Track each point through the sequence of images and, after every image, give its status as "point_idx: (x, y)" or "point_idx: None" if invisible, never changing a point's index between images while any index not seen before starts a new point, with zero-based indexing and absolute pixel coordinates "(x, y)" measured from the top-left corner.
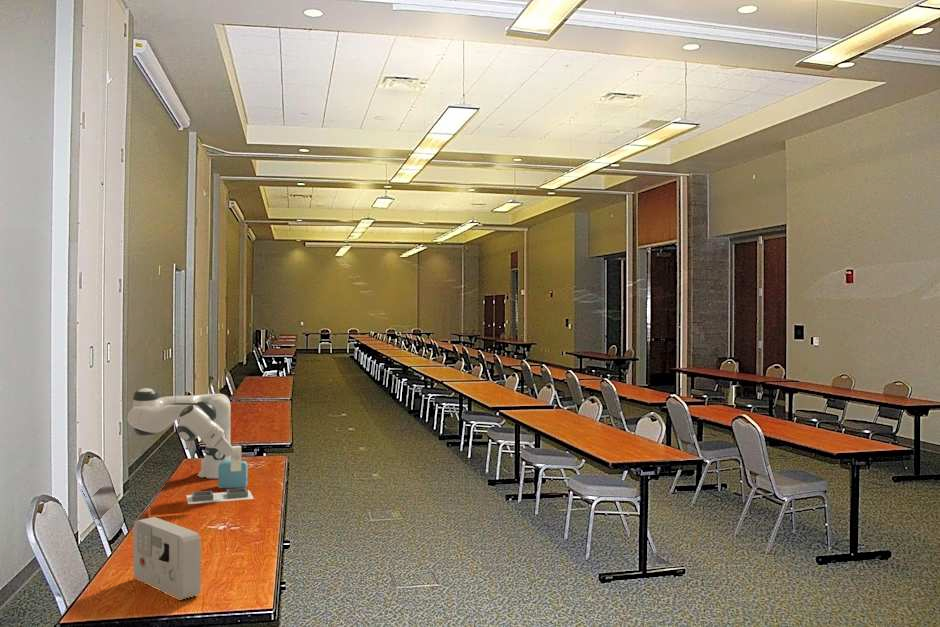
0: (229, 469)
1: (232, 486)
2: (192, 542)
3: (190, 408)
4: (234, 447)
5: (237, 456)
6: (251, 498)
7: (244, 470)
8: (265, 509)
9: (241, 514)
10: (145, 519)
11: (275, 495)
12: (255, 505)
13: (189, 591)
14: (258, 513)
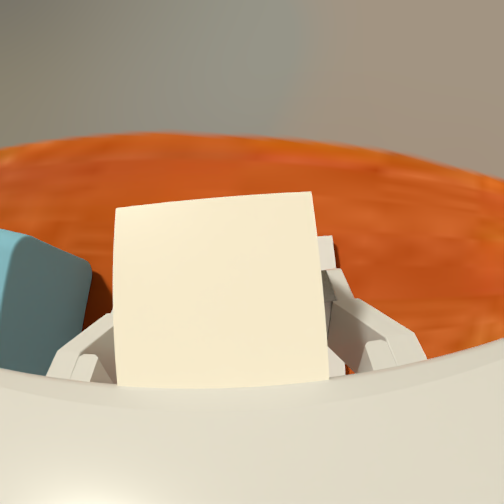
0: (22, 335)
1: (76, 322)
2: None
3: None
4: (295, 340)
5: (344, 292)
6: (325, 246)
7: (43, 251)
8: (456, 206)
9: (499, 290)
10: None
11: (246, 148)
12: (401, 236)
13: None
14: (494, 234)
